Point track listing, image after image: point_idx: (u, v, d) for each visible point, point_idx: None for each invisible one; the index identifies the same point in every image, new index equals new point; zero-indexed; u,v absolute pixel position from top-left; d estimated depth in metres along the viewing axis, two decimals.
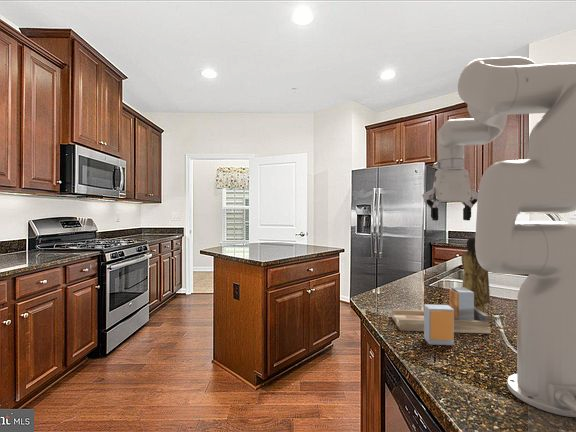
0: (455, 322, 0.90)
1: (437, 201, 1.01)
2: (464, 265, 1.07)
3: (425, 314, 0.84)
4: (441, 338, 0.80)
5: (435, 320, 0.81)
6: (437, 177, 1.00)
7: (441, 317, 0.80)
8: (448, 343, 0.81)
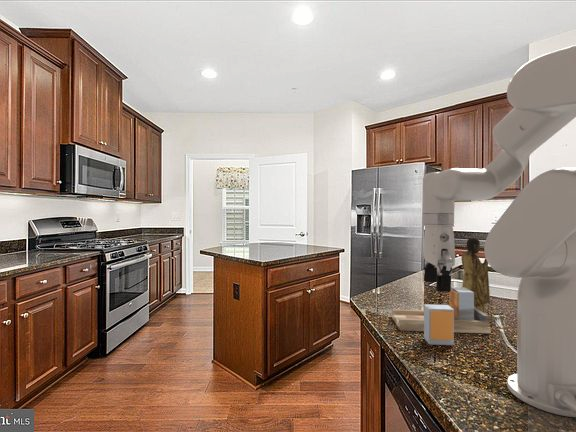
0: (455, 322, 0.90)
1: None
2: (464, 265, 1.07)
3: (425, 314, 0.84)
4: (441, 338, 0.80)
5: (435, 320, 0.81)
6: (451, 236, 0.78)
7: (441, 317, 0.80)
8: (448, 343, 0.81)
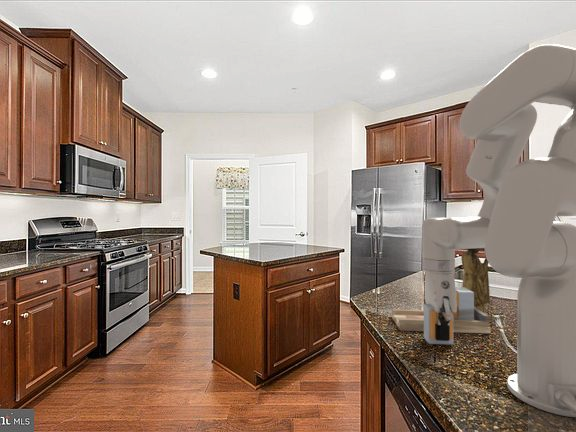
0: (455, 322, 0.90)
1: None
2: (464, 265, 1.07)
3: (425, 313, 0.84)
4: None
5: (435, 319, 0.81)
6: (452, 283, 0.78)
7: None
8: (448, 342, 0.81)
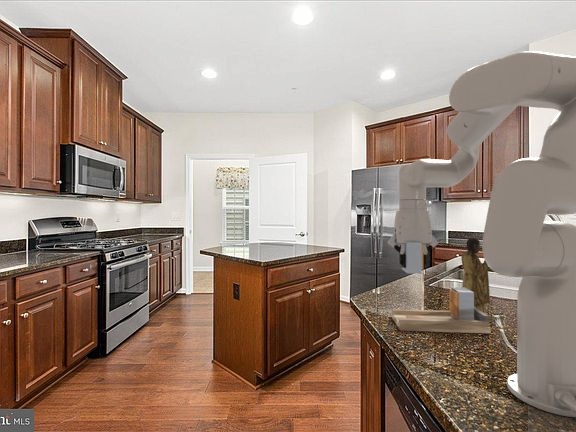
0: (455, 322, 0.90)
1: None
2: (464, 265, 1.07)
3: (411, 250, 0.93)
4: None
5: None
6: None
7: None
8: None
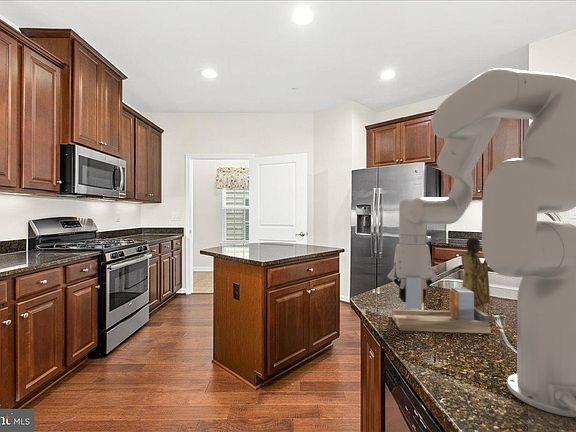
0: (455, 322, 0.90)
1: None
2: (464, 265, 1.07)
3: (411, 285, 0.93)
4: None
5: None
6: None
7: None
8: None
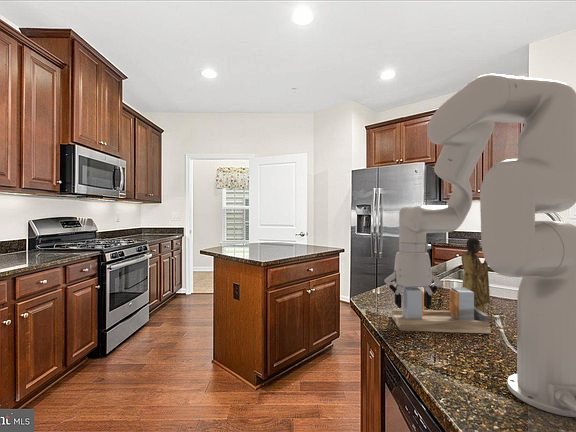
0: (455, 322, 0.90)
1: None
2: (464, 265, 1.07)
3: (411, 298, 0.93)
4: None
5: None
6: None
7: None
8: None
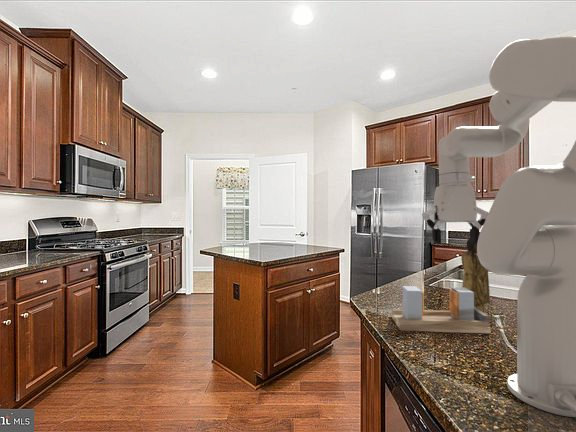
0: (455, 322, 0.90)
1: None
2: (464, 265, 1.07)
3: (411, 298, 0.93)
4: None
5: None
6: None
7: None
8: None
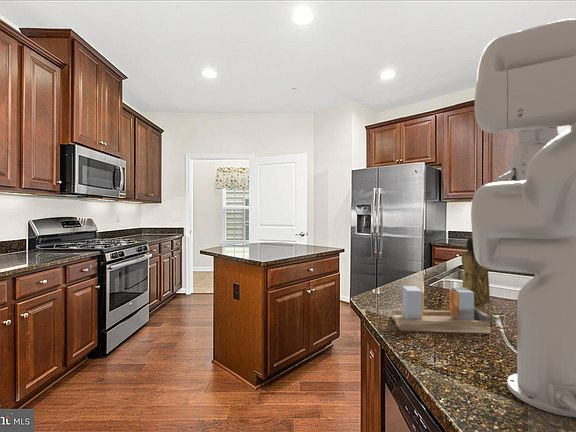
0: (455, 322, 0.90)
1: None
2: (464, 265, 1.07)
3: (411, 298, 0.93)
4: None
5: None
6: None
7: None
8: None
